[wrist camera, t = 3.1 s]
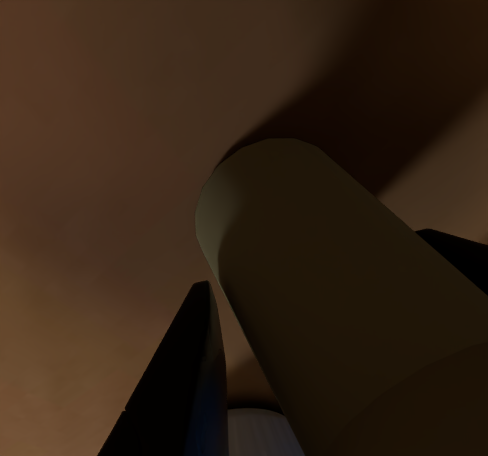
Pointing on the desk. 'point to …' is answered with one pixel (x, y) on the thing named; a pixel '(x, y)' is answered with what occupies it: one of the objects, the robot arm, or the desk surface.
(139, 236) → the desk surface
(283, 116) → the desk surface
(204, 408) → the robot arm
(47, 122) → the desk surface
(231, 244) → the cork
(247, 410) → the ramekin
